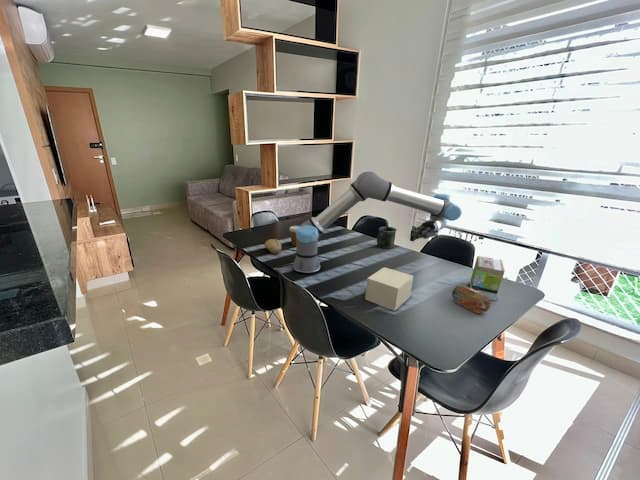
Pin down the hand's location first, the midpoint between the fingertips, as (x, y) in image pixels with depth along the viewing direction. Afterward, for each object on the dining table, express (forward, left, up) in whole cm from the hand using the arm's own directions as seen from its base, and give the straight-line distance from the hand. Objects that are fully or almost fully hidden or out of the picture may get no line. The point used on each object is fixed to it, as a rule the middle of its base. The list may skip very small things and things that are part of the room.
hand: (411, 238), depth 134 cm
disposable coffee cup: (-36, +70, -24) cm, 82 cm away
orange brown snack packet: (+14, -25, -24) cm, 37 cm away
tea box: (+31, -15, -24) cm, 42 cm away
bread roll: (-54, +61, -24) cm, 85 cm away
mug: (+19, +50, -24) cm, 59 cm away
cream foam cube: (-15, -10, -24) cm, 30 cm away
